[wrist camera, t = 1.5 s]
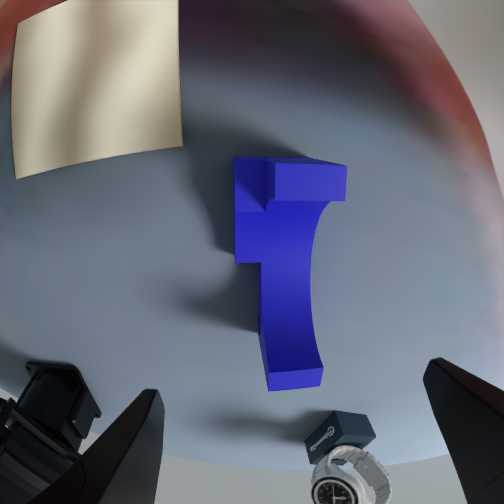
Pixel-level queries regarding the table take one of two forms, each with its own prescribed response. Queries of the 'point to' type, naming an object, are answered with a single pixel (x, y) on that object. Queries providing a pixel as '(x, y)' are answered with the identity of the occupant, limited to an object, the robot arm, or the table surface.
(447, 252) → the table surface
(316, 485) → the watch
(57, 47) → the pad
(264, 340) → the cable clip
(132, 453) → the robot arm
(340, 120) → the table surface
